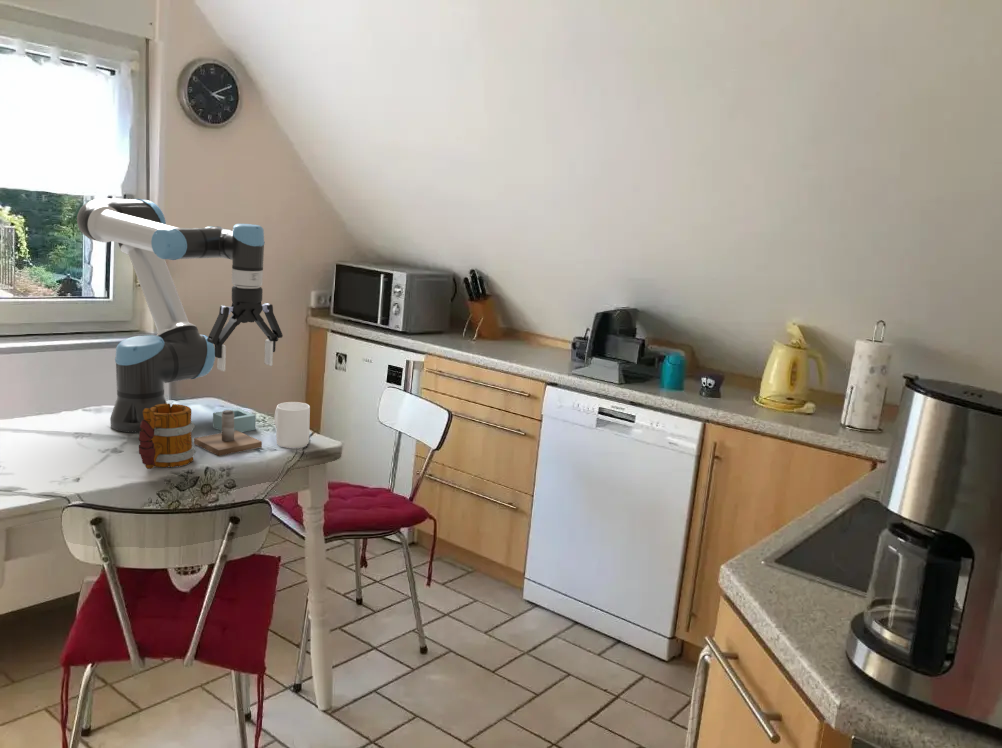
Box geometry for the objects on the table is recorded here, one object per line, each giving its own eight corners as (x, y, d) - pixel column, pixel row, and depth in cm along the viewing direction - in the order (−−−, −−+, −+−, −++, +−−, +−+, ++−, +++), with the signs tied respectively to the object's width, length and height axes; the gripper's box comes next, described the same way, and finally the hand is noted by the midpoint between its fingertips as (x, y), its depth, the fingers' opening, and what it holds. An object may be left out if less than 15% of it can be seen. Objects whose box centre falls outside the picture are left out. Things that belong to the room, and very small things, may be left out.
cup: (288, 450, 216) (289, 412, 214) (261, 439, 224) (262, 401, 222) (315, 444, 222) (316, 407, 220) (288, 433, 230) (288, 397, 228)
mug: (204, 457, 207) (203, 397, 204) (162, 478, 191) (161, 414, 188) (164, 451, 209) (163, 391, 206) (120, 471, 194) (119, 407, 190)
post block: (193, 443, 216) (193, 409, 214) (236, 435, 225) (236, 402, 223) (218, 456, 208) (218, 420, 206) (261, 447, 217) (262, 413, 215)
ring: (213, 427, 231) (213, 412, 230) (239, 422, 237) (239, 408, 236) (228, 434, 226) (228, 419, 225) (255, 429, 231) (255, 415, 231)
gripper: (209, 290, 205) (207, 375, 210) (297, 286, 223) (294, 365, 228) (193, 285, 210) (192, 368, 215) (281, 282, 228) (279, 359, 233)
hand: (245, 367), depth 221 cm, fingers open, 13 cm apart
